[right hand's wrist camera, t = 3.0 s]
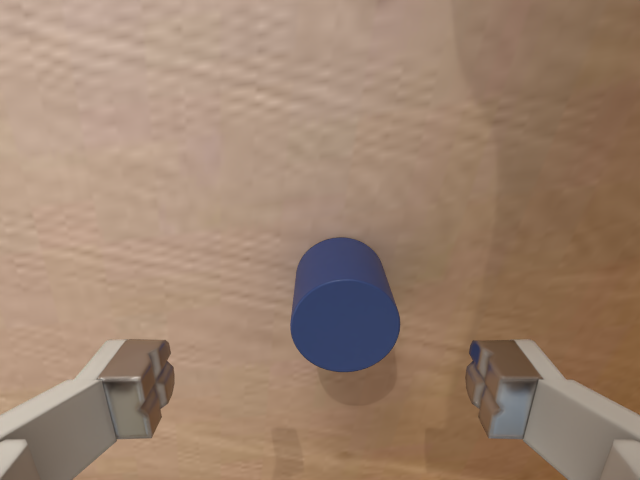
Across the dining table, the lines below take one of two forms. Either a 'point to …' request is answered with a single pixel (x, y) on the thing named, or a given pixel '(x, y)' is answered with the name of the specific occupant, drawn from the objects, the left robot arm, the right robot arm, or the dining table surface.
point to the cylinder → (343, 307)
